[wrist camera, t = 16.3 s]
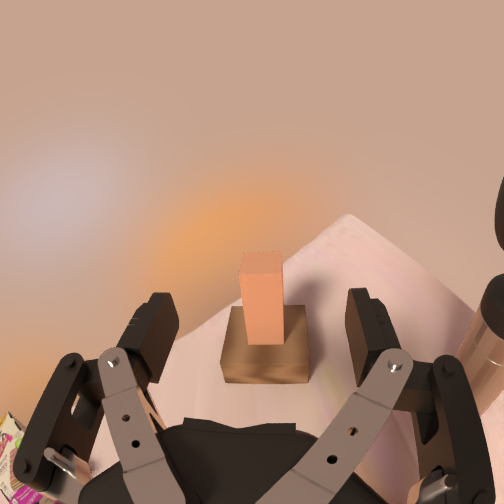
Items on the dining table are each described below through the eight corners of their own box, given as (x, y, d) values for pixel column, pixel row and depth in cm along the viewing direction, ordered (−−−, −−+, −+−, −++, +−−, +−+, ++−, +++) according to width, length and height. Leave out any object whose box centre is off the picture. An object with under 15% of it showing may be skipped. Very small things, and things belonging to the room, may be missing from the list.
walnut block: (304, 326, 48) (304, 305, 46) (307, 382, 38) (309, 362, 35) (235, 327, 49) (231, 306, 47) (225, 382, 39) (219, 362, 36)
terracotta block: (283, 320, 43) (281, 251, 37) (283, 344, 38) (282, 273, 33) (251, 320, 43) (243, 253, 38) (248, 344, 39) (238, 274, 33)
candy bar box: (21, 521, 10) (-26, 447, 17) (45, 530, 13) (-6, 462, 19) (59, 472, 19) (7, 409, 25) (81, 485, 22) (25, 425, 28)
